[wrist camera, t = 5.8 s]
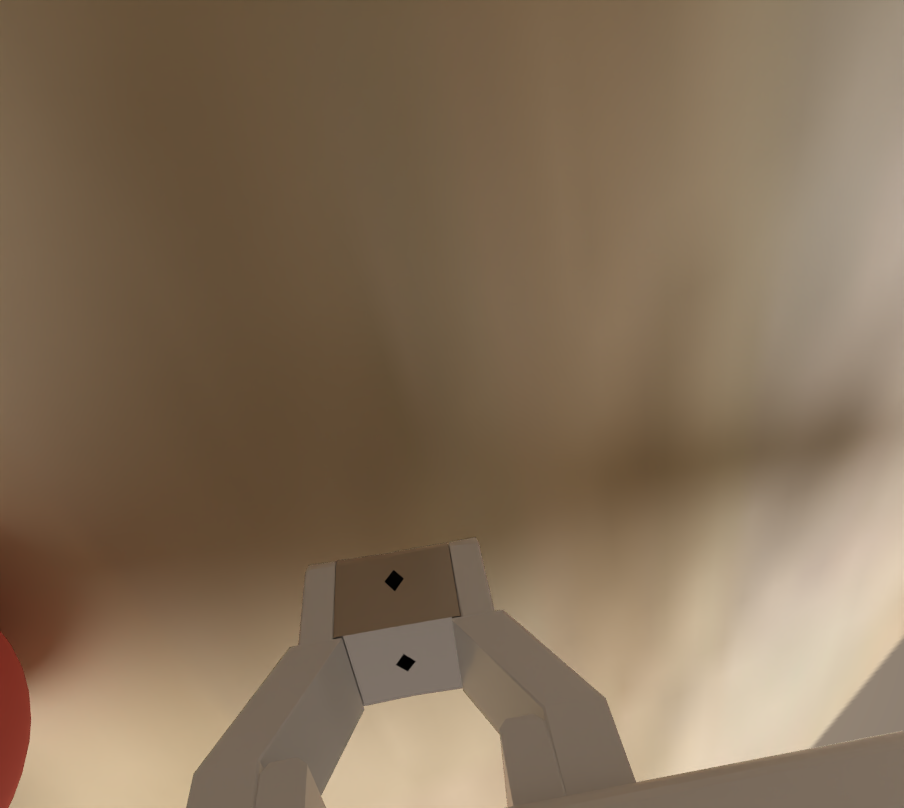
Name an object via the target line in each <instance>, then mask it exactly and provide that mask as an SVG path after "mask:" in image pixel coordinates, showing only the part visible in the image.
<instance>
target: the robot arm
mask: <svg viewBox="0 0 904 808" xmlns="http://www.w3.org/2000/svg"><path fill="white" fill-rule="evenodd" d="M460 688H463V691H464V692H465V693H466V695H467V696H468V697H469V698H470V699H471V701H472V702H473V703H474V704H475V705H476V707H477V708H478V709H479V710H480V711H481V713H482V714H483V715H484V716H485V718H486V719H487V720H488V721H489V722H490V724H491V725H492V726H493V727H494V728H495V730H496V731H497V732H498V733H499V734H500V740H501V750H502V760H503V769H504V779H505V788H506V798H507V807H506V808H904V730H903V731H898V732H893V733H888V734H883V735H878V736H872V737H867V738H862V739H857V740H852V741H847V742H842V743H836V744H832V745H826V746H821V747H816V748H811V749H805V750H800V751H795V752H790V753H785V754H780V755H775V756H769V757H764V758H759V759H754V760H749V761H744V762H738V763H733V764H728V765H723V766H718V767H713V768H708V769H702V770H697V771H692V772H687V773H682V774H677V775H671V776H666V777H661V778H656V779H651V780H646V781H641V782H636V780H635V778H634V775H633V772H632V769H631V767H630V764H629V761H628V758H627V756H626V753H625V750H624V747H623V745H622V742H621V739H620V736H619V734H618V731H617V728H616V725H615V723H614V720H613V717H612V714H611V712H610V709H609V706H608V703H607V701H606V698H605V697H604V696H602V695H601V694H600V693H599V692H598V691H597V690H595V689H594V688H593V687H592V686H591V685H590V684H589V683H587V682H586V681H585V680H584V679H583V678H582V677H580V676H579V675H578V674H577V673H576V672H575V671H574V670H572V669H571V668H570V667H569V666H568V665H567V664H565V663H564V662H563V661H562V660H561V659H560V658H558V657H557V656H556V655H555V654H554V653H553V652H552V651H550V650H549V649H548V648H547V647H546V646H545V645H543V644H542V643H541V642H540V641H539V640H538V639H536V638H535V637H534V636H533V635H532V634H531V633H530V632H528V631H527V630H526V629H525V628H524V627H523V626H521V625H520V624H519V623H518V622H517V621H516V620H515V619H513V618H512V617H511V616H510V615H509V614H508V613H506V612H505V611H504V610H497V611H495V610H494V606H493V602H492V598H491V593H490V589H489V585H488V580H487V576H486V572H485V567H484V563H483V559H482V554H481V550H480V546H479V541H478V540H477V538H476V537H473V538H468V539H462V540H457V541H451V542H449V545H448V542H445V543H440V544H434V545H429V546H423V547H418V548H412V549H406V550H401V551H395V552H393V553H386V554H379V555H372V556H365V557H358V558H351V559H344V560H337V561H334V562H327V563H320V564H313V565H308V567H307V570H306V572H305V580H304V591H303V602H302V613H301V624H300V634H299V645H298V646H293V647H289V649H288V650H287V651H286V653H285V654H284V655H283V657H282V658H281V659H280V661H279V662H278V663H277V665H276V666H275V667H274V668H273V670H272V671H271V672H270V674H269V675H268V676H267V678H266V679H265V680H264V682H263V683H262V684H261V686H260V687H259V688H258V690H257V691H256V692H255V694H254V695H253V696H252V697H251V699H250V700H249V701H248V703H247V704H246V705H245V707H244V708H243V709H242V711H241V712H240V713H239V715H238V716H237V717H236V719H235V720H234V721H233V722H232V724H231V725H230V726H229V728H228V729H227V730H226V732H225V733H224V734H223V736H222V737H221V738H220V740H219V741H218V742H217V744H216V745H215V746H214V748H213V749H212V750H211V751H210V753H209V754H208V755H207V757H206V758H205V759H204V761H203V762H202V763H201V765H200V766H199V767H198V769H197V770H196V771H195V773H194V775H193V779H192V784H191V788H190V793H189V798H188V802H187V807H186V808H326V806H325V804H324V802H323V800H322V797H321V795H322V793H323V791H324V789H325V787H326V785H327V783H328V781H329V779H330V777H331V775H332V773H333V771H334V769H335V767H336V765H337V763H338V761H339V759H340V757H341V755H342V753H343V751H344V749H345V747H346V745H347V743H348V741H349V739H350V737H351V735H352V733H353V731H354V729H355V727H356V725H357V723H358V721H359V719H360V717H361V715H362V713H363V711H364V707H363V706H366V705H371V704H376V703H381V702H385V701H390V700H395V699H400V698H404V697H409V696H413V695H421V694H427V693H434V692H440V691H447V690H453V689H460Z"/></svg>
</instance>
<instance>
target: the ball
mask: <svg viewBox="0 0 904 808" xmlns="http://www.w3.org/2000/svg"><path fill="white" fill-rule="evenodd" d="M30 726H31V712H30V700H29V690H28V687H27V683H26V679H25V675H24V672H23V669H22V666H21V664H20V662H19V660H18V658H17V656H16V654H15V652H14V650H13V648H12V646H11V645H10V643H9V642H8V640H7V639H6V638H5V636H4V635H3V634H2V633H1V632H0V808H8V807H9V805H10V803H11V801H12V799H13V797H14V794H15V791H16V789H17V786H18V783H19V780H20V778H21V775H22V772H23V767H24V763H25V759H26V754H27V750H28V745H29V739H30Z"/></svg>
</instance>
